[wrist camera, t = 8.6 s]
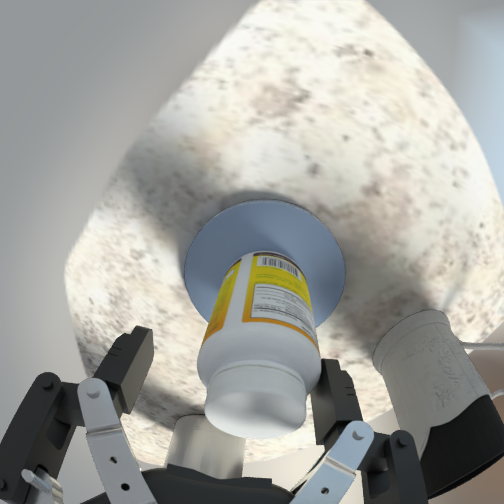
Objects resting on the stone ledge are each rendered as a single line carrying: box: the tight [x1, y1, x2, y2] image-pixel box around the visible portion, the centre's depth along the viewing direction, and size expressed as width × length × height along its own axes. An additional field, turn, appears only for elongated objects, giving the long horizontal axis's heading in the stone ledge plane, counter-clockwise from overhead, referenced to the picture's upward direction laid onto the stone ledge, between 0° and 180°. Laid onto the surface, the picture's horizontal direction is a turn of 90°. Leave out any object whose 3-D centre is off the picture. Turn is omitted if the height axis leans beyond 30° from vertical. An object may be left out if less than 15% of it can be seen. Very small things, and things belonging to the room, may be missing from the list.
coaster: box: [185, 199, 345, 328], centre depth 19 cm, size 11×11×1 cm
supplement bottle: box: [197, 251, 321, 439], centre depth 13 cm, size 6×6×10 cm
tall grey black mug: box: [373, 310, 504, 500], centre depth 14 cm, size 9×14×15 cm, turn 120°
